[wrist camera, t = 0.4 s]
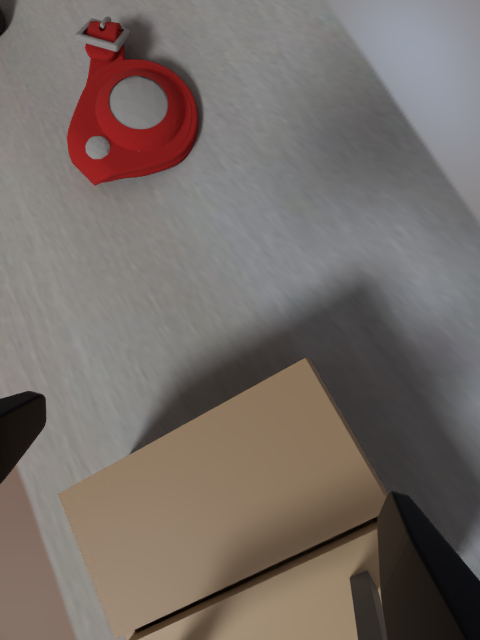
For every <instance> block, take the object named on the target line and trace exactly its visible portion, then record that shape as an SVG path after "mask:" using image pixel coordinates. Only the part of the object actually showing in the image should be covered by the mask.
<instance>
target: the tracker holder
mask: <svg viewBox="0 0 480 640" xmlns="http://www.w3.org/2000/svg"><path fill="white" fill-rule="evenodd" d="M129 35H130V30H129V29H127V28H124V27H121V25H120V23H115V22H111V18H110V17H106V18H104V19H103V20H102V21H100V20H96V19H93V18H92V19H90V20H89V21H88V22H87V23H86V24H85V25H84V26H83V27H82V28H81V29H80V30H79V31H78V32H77V33H76V35H75V38H76V40H77V41H80V42H83V43H86V46H85V49H86V52H87V54H88V56H89V57H90V58H91V61H90V68H89V75H88V79H87V83H86V87H85V88H84V90H83V92H82V94H81V97H80V99H79V102H78V104H77V106H76V109H75V112H74V114H73V117H72V120H71V123H70V126H69V129H68V135H67V142H68V151H69V155H70V158H71V161H72V163H73V164H74V165H75V166H76V167H77V168H78V169H79V170H80V171H81V172H82V173H83V174H84V175H85V176H86V177H87V178H88V179H89V180H90V181H91V182H92V183H93V185H98V184H100V183H102V182H109V181H114V180H118V179H123V178H131V177H141V176H146V175H150V174H153V173H157V172H160V171H163V170H166V169H169V168H171V167H173V166H175V165H177V164H179V163H180V162H181V161H183V160H184V159H185V158H186V156H187V155H188V154H189V152H190V151H191V149H192V147H193V144H194V142H195V139H196V135H197V131H198V113H197V106H196V102H195V99H194V97H193V95H192V93H191V91H190V89H189V87H188V86H187V85H186V84H185V83H184V81H183V80H182V79H181V78H180V77H179V76H178V75H176V74H175V73H174V72H173V71H171V70H170V69H168V68H166V67H164V66H162V65H160V64H157V63H154V62H151V61H146V60H140V59H129V60H125V54H124V42H125V41H126V40H127V38H128V37H129Z"/></svg>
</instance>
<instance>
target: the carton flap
mask: <svg viewBox="0 0 480 640" xmlns="http://www.w3.org/2000/svg"><path fill="white" fill-rule="evenodd" d="M129 640H387V636H386V629H385V622H384V616H383V609H382V601H381V592H380V575H379V555H378V534H377V522H375V523H373V524H371V525H368V526H366V527H364V528H362V529H360V530H358V531H355V532H353V533H351V534H349V535H347V536H345V537H343V538H340V539H338V540H336V541H334V542H332V543H330V544H328V545H325V546H323V547H321V548H319V549H317V550H315V551H312V552H310V553H308V554H306V555H304V556H302V557H300V558H297V559H295V560H293V561H291V562H289V563H287V564H285V565H282V566H280V567H278V568H276V569H274V570H272V571H269V572H267V573H265V574H263V575H261V576H259V577H257V578H254V579H252V580H250V581H248V582H246V583H244V584H242V585H239V586H237V587H235V588H233V589H231V590H229V591H226V592H224V593H222V594H220V595H218V596H216V597H214V598H211V599H209V600H207V601H205V602H203V603H201V604H199V605H196V606H194V607H192V608H190V609H188V610H186V611H183V612H181V613H179V614H177V615H175V616H173V617H171V618H168V619H166V620H164V621H162V622H160V623H158V624H156V625H153V626H151V627H149V628H147V629H145V630H143V631H141V632H138V633H136V634H134V635H132V636H131V637H130V639H129Z"/></svg>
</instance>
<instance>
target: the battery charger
mask: <svg viewBox="0 0 480 640" xmlns="http://www.w3.org/2000/svg"><path fill="white" fill-rule="evenodd" d="M4 24H5V21H4V16H3V13H2V11H1V9H0V32H1V31H2V30H3V28H4Z"/></svg>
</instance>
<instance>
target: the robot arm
mask: <svg viewBox="0 0 480 640" xmlns="http://www.w3.org/2000/svg"><path fill="white" fill-rule="evenodd" d="M45 423H46V399H45V396H44V395H42V394H40V393H36V392H32V391H26V392H23V393H19V394H16V395H12V396H9V397H5V398H2V399H0V484H1V483H2V481H3V480H4V479H5V478H6V477H7V476H8V474H9V473H10V472H11V470H12V469H13V468H14V467H15V465H16V464H17V463H18V461H19V460H20V459H21V457H22V456H23V455H24V453H25V452H26V451H27V450H28V448H29V447H30V446H31V444H32V443H33V442H34V440H35V439H36V438H37V436H38V435H39V434H40V432H41V431H42V430H43V428H44V426H45ZM377 534H378V555H379V575H380V592H381V601H382V609H383V616H384V622H385V629H386V636H387V640H480V581H479V579H478V578H477V577H476V576H475V575H474V573H473V572H472V571H471V570H470V569H469V567H468V566H467V565H466V564H465V563H464V561H463V560H462V559H461V558H460V557H459V555H458V554H457V553H456V552H455V551H454V549H453V548H452V547H451V546H450V545H449V543H448V542H447V541H446V540H445V539H444V537H443V536H442V535H441V534H440V533H439V531H438V530H437V529H436V528H435V527H434V525H433V524H432V523H431V522H430V521H429V519H428V518H427V517H426V516H425V515H424V513H423V512H422V511H421V510H420V509H419V507H418V506H417V505H416V504H415V503H414V501H413V500H412V499H411V498H410V497H409V496H408V495H405V494H402V493H398V492H394V491H391V492H389V493H388V495H387V497H386V499H385V501H384V504H383V506H382V508H381V511H380V513H379V516H378V520H377Z"/></svg>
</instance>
